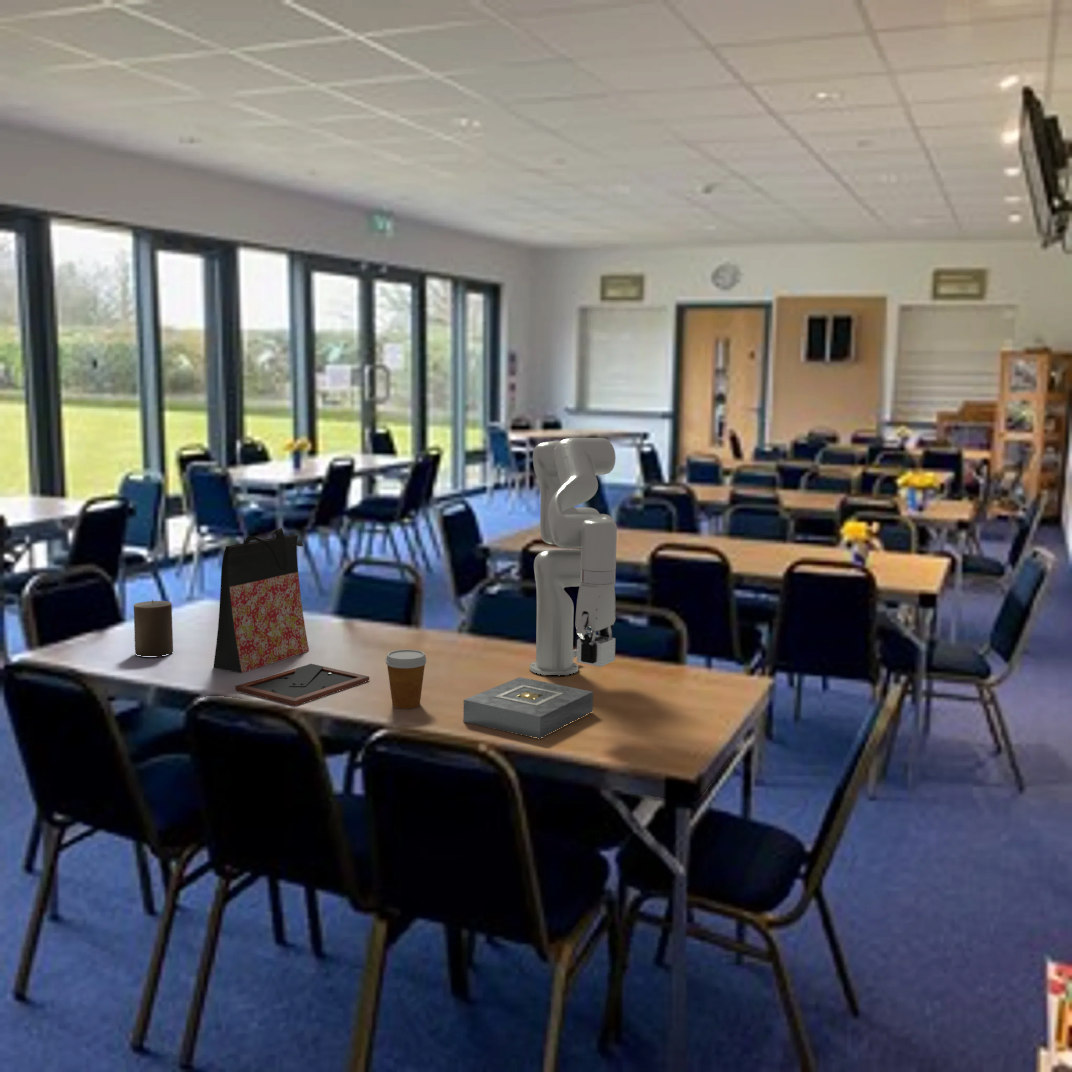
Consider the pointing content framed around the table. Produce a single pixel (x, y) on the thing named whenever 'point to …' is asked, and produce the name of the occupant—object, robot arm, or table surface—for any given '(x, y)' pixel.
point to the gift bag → (260, 604)
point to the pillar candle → (153, 628)
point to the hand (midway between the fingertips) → (595, 658)
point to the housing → (600, 650)
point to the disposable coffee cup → (406, 677)
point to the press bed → (527, 707)
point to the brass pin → (529, 695)
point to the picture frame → (301, 684)
